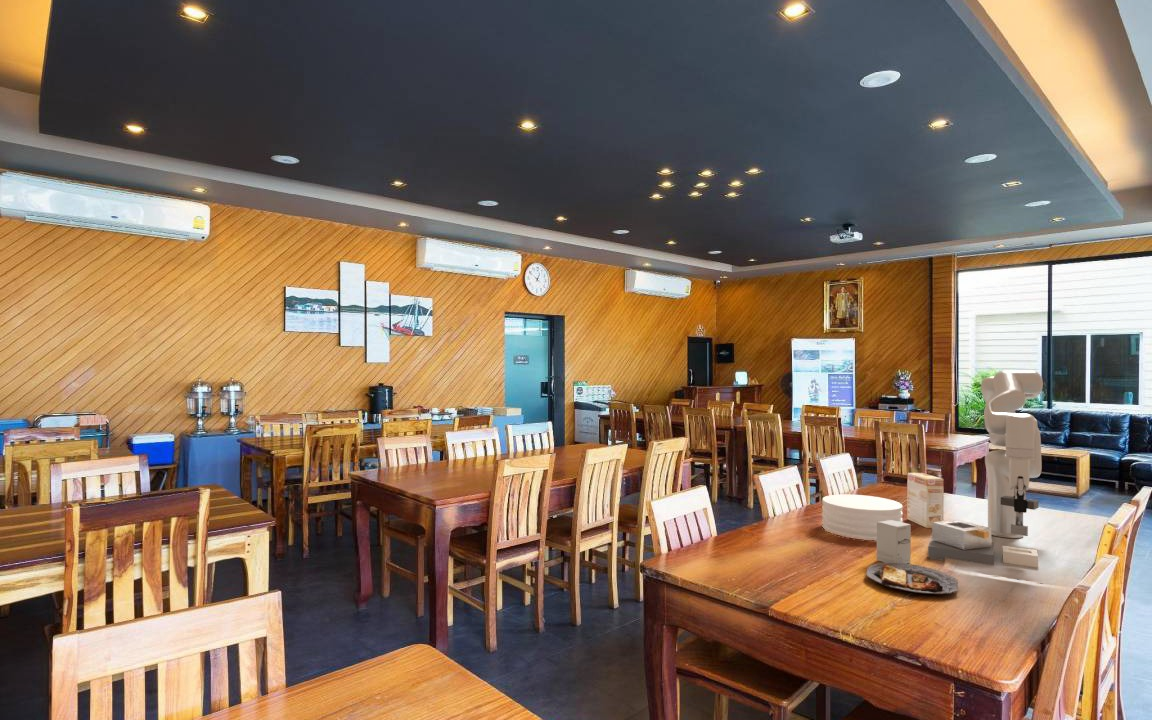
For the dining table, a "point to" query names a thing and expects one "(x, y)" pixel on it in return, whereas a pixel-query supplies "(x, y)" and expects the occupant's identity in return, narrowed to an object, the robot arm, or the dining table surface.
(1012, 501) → the block
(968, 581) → the dining table surface
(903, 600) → the dining table surface
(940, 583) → the food plate
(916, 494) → the coffeecake box
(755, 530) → the dining table surface
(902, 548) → the supplement box
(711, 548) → the dining table surface
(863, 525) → the plate stack
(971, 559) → the grey flat slab
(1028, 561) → the key stand
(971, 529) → the chuck
